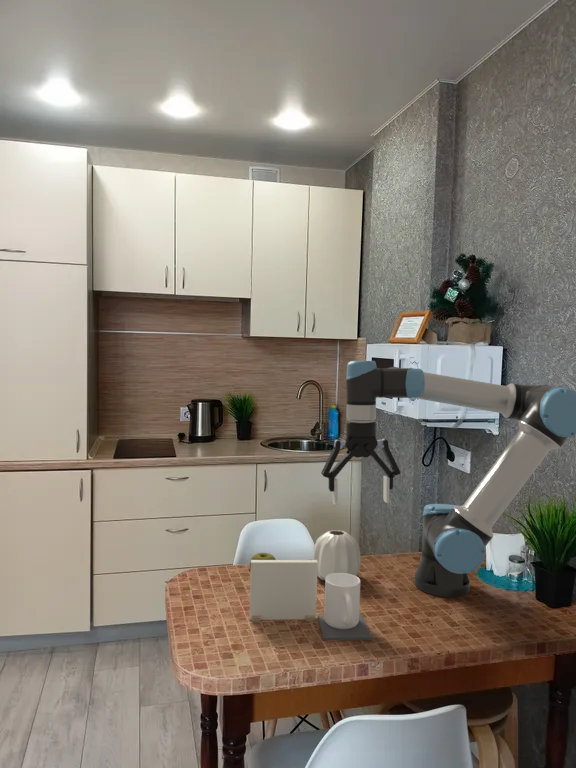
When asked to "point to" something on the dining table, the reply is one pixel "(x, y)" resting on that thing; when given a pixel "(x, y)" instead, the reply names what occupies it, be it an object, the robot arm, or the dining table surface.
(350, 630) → the pad
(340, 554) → the vase
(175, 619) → the dining table surface
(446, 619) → the dining table surface
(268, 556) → the apple
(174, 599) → the dining table surface
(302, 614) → the screen
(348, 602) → the mug
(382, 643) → the dining table surface
